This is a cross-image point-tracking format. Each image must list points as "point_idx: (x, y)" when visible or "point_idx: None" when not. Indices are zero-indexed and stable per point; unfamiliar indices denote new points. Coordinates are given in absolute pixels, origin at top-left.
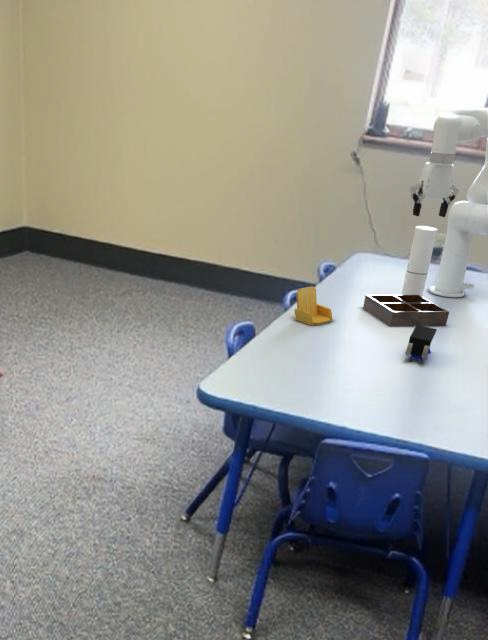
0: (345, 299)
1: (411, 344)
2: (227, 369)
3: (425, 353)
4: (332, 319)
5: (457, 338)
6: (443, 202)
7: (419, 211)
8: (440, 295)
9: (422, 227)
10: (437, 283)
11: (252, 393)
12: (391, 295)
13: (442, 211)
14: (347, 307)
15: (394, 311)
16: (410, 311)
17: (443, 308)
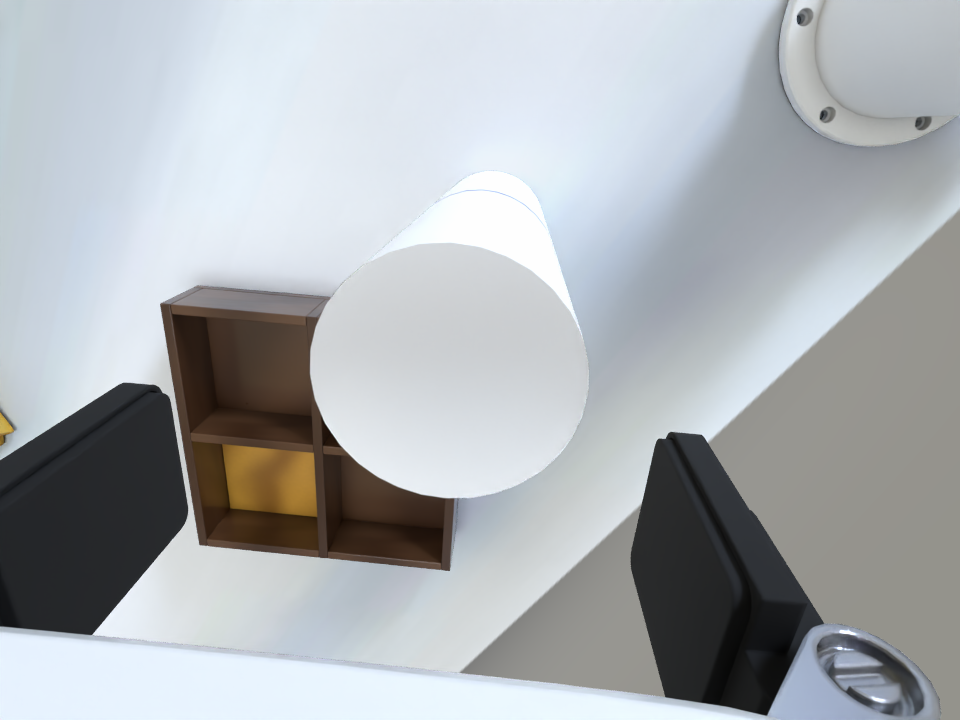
0: (153, 121)
1: None
2: None
3: None
4: (11, 431)
5: (414, 633)
6: (748, 684)
7: (129, 575)
8: (788, 97)
9: (406, 347)
10: (842, 9)
11: None
12: (301, 325)
13: (660, 573)
14: (126, 263)
15: (207, 541)
16: (277, 549)
17: (451, 534)
